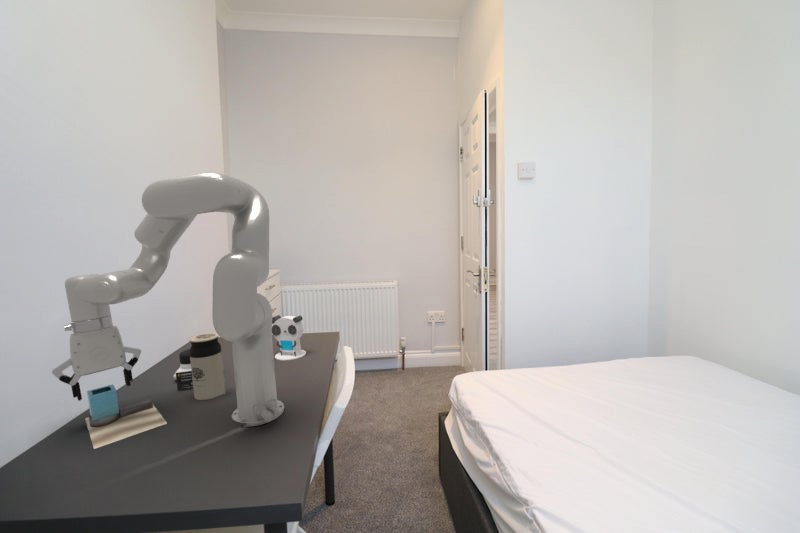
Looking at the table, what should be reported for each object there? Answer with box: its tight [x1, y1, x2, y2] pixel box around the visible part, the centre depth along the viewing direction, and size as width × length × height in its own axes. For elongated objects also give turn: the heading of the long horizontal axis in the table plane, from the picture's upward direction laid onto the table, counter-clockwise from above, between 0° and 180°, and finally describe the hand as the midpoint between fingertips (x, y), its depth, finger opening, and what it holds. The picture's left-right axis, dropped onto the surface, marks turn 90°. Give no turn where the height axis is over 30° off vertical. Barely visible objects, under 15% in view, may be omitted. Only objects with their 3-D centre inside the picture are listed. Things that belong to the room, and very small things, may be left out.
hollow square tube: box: [86, 384, 120, 421], centre depth 93 cm, size 5×5×6 cm
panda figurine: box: [272, 314, 307, 361], centre depth 140 cm, size 12×11×15 cm
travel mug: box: [188, 332, 226, 401], centre depth 106 cm, size 8×8×18 cm
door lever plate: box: [84, 398, 168, 450], centre depth 93 cm, size 20×14×8 cm
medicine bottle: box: [175, 348, 194, 392], centre depth 114 cm, size 7×7×12 cm
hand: (104, 391), depth 93 cm, fingers open, 9 cm apart
